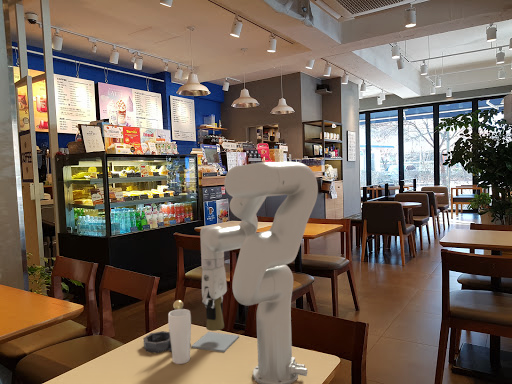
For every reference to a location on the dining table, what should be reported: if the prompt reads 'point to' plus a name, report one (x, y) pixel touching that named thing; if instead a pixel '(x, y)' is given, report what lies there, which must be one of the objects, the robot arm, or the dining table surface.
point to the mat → (215, 341)
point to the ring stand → (160, 337)
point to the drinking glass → (180, 335)
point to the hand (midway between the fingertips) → (214, 315)
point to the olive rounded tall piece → (218, 322)
